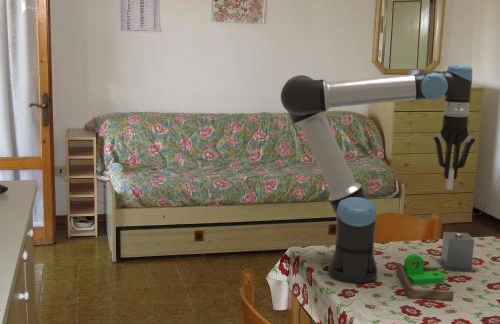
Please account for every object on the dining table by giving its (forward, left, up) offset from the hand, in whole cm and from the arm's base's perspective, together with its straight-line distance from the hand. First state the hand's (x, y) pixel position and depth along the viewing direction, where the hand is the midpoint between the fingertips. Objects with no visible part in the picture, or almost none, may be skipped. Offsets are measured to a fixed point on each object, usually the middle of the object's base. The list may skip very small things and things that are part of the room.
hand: (449, 188), depth 213 cm
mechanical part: (-8, -13, -27) cm, 31 cm away
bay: (-9, -18, -26) cm, 33 cm away
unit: (+5, +2, -26) cm, 27 cm away
